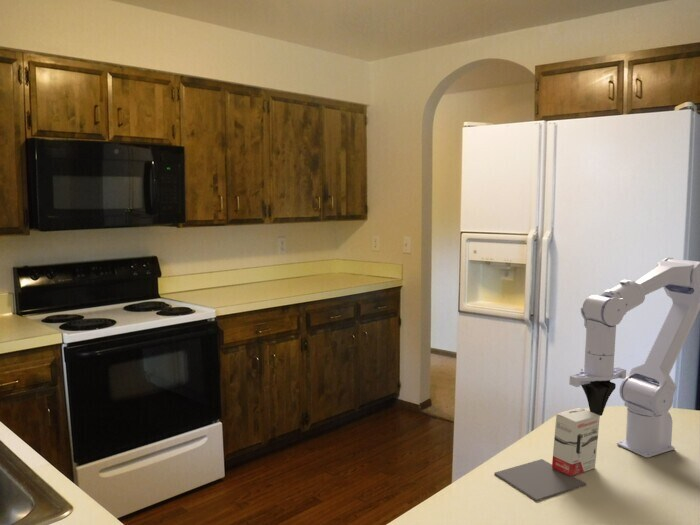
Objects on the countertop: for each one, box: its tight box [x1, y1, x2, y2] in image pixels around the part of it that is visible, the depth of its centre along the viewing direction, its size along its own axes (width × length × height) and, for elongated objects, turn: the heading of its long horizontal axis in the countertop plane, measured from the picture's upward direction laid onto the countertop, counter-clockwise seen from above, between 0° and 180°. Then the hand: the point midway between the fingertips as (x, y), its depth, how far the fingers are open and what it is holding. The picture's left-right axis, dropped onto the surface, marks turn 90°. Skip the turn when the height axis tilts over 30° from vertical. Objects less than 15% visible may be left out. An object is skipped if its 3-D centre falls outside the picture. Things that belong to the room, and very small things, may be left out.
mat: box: [494, 458, 587, 502], centre depth 119 cm, size 13×12×1 cm
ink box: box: [551, 407, 601, 477], centre depth 123 cm, size 8×5×12 cm, turn 124°
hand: (596, 414), depth 126 cm, fingers closed
